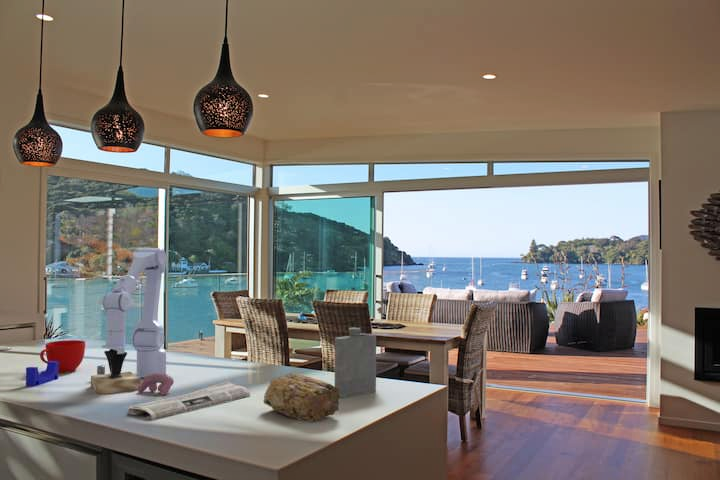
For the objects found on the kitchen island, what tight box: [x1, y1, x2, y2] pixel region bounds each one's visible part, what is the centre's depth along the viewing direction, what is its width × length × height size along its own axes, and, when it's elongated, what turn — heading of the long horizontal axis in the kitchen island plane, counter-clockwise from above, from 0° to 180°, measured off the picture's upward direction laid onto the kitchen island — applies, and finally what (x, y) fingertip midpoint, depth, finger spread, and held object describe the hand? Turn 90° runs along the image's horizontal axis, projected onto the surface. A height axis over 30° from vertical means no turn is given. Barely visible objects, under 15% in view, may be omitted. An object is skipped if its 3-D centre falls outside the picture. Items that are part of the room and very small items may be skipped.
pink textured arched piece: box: [137, 373, 174, 396], centre depth 191 cm, size 10×5×7 cm, turn 72°
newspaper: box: [128, 380, 251, 421], centre depth 177 cm, size 35×12×4 cm, turn 143°
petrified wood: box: [263, 373, 340, 422], centre depth 166 cm, size 19×13×10 cm
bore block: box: [90, 371, 141, 395], centre depth 197 cm, size 12×12×4 cm
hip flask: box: [334, 327, 377, 400], centre depth 191 cm, size 16×4×20 cm, turn 133°
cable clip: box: [25, 361, 59, 388], centre depth 205 cm, size 12×4×6 cm, turn 171°
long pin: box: [110, 368, 119, 378], centre depth 197 cm, size 2×2×8 cm
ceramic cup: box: [39, 339, 86, 373], centre depth 223 cm, size 13×17×10 cm
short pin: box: [96, 364, 106, 375], centre depth 209 cm, size 2×2×4 cm
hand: (115, 373), depth 197 cm, fingers closed on long pin, 2 cm apart
